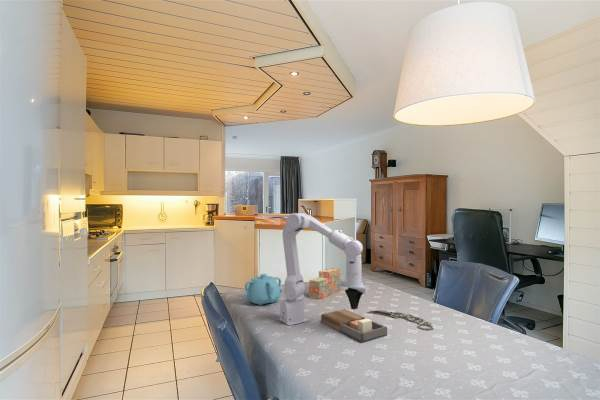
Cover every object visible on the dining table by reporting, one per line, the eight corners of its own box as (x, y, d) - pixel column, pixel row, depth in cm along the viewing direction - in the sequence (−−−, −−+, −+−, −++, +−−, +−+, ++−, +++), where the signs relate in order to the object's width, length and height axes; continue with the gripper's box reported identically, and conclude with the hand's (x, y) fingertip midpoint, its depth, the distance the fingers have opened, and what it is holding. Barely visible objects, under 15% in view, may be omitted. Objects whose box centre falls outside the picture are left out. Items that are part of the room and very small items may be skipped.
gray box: (361, 343, 112) (361, 334, 112) (340, 331, 123) (339, 323, 123) (387, 335, 118) (387, 327, 118) (364, 325, 129) (364, 317, 129)
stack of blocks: (319, 300, 163) (319, 275, 164) (309, 298, 167) (308, 274, 167) (340, 290, 181) (340, 268, 181) (330, 289, 184) (330, 267, 185)
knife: (366, 311, 143) (381, 305, 149) (366, 314, 143) (381, 308, 149) (426, 330, 121) (440, 322, 127) (426, 334, 121) (440, 326, 127)
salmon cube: (357, 332, 120) (357, 325, 120) (350, 328, 123) (349, 322, 123) (366, 330, 122) (366, 323, 122) (358, 326, 126) (358, 319, 126)
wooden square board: (339, 331, 123) (339, 323, 123) (321, 321, 133) (321, 314, 133) (364, 325, 129) (364, 317, 129) (344, 316, 139) (344, 309, 139)
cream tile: (358, 332, 120) (362, 335, 117) (357, 320, 120) (362, 322, 117) (367, 330, 122) (372, 332, 120) (366, 318, 122) (371, 320, 120)
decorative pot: (257, 296, 172) (256, 270, 172) (285, 298, 166) (284, 271, 166) (240, 305, 157) (240, 276, 157) (271, 308, 151) (270, 278, 151)
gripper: (375, 274, 121) (375, 312, 120) (349, 268, 133) (350, 302, 133) (360, 277, 117) (361, 315, 117) (335, 270, 129) (336, 305, 129)
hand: (354, 308), depth 125 cm, fingers closed
